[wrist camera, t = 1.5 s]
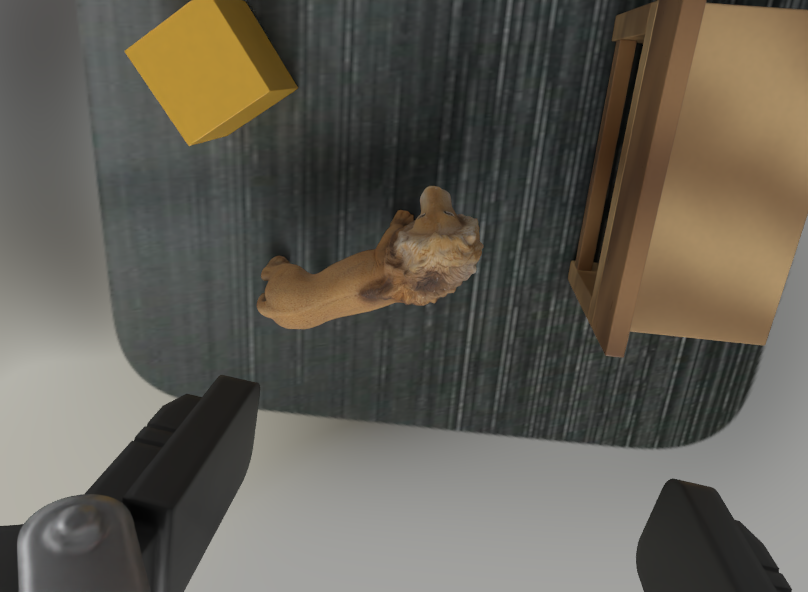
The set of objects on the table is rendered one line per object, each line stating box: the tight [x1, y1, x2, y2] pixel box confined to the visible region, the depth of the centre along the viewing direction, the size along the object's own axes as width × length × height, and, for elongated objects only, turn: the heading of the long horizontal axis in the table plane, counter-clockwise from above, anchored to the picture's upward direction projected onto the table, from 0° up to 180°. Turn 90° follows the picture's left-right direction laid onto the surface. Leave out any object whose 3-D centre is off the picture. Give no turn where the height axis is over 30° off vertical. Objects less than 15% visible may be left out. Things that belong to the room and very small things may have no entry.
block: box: [125, 0, 298, 146], centre depth 30 cm, size 5×5×5 cm
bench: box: [568, 0, 808, 357], centre depth 27 cm, size 14×8×10 cm, turn 176°
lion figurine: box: [257, 186, 483, 329], centre depth 31 cm, size 15×5×9 cm, turn 119°
